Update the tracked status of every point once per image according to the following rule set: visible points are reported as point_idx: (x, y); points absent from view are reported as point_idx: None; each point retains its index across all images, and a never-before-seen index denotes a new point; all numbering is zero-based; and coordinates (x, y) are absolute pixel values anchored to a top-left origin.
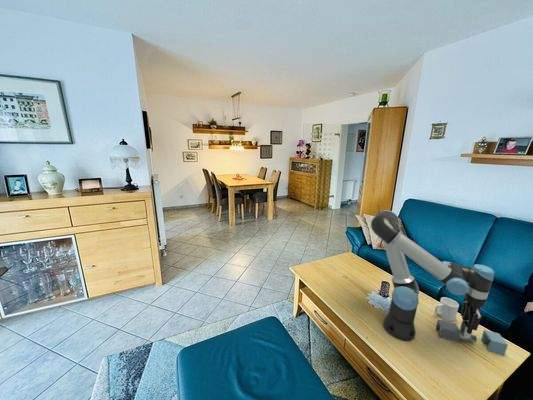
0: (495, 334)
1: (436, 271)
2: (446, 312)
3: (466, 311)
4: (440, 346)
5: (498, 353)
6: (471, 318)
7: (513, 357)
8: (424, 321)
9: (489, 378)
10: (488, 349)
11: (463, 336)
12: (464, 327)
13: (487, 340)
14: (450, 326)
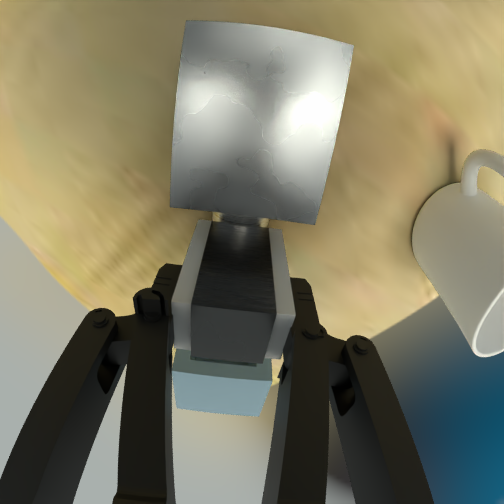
0: (243, 404)
1: None
2: (463, 231)
3: (279, 482)
4: (118, 22)
5: None
6: (123, 446)
7: None
8: (389, 19)
9: (11, 214)
10: None
11: (199, 220)
12: (203, 272)
13: None
14: (250, 135)
